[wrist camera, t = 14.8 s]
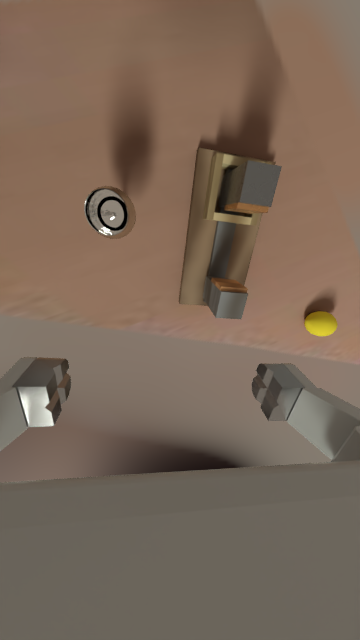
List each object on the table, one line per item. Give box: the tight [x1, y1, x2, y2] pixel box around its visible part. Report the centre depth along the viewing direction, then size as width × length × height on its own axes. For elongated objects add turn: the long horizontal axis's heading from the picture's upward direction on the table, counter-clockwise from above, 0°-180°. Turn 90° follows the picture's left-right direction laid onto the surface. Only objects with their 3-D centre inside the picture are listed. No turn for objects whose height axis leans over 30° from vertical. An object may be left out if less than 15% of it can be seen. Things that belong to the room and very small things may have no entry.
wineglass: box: [84, 186, 136, 239], centre depth 28 cm, size 6×6×12 cm
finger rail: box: [179, 148, 275, 319], centre depth 32 cm, size 12×24×12 cm, turn 173°
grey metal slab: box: [218, 160, 282, 214], centre depth 28 cm, size 5×4×9 cm
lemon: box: [304, 311, 337, 336], centre depth 44 cm, size 7×5×5 cm
